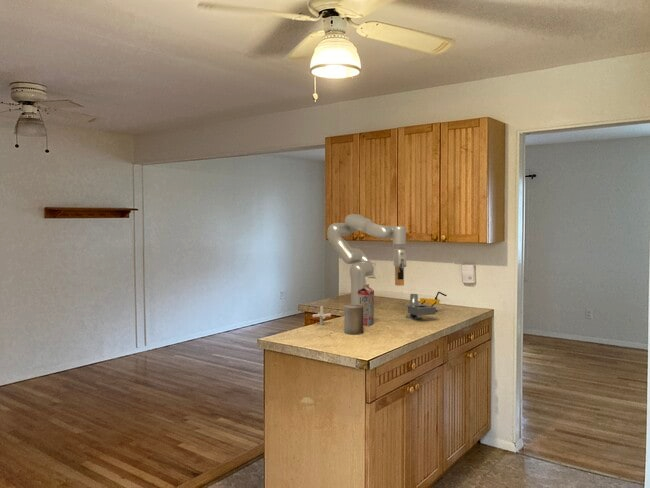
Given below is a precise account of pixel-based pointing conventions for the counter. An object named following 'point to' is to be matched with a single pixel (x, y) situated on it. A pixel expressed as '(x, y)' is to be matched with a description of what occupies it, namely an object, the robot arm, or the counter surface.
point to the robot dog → (431, 300)
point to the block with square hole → (418, 308)
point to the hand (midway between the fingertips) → (399, 278)
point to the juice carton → (367, 304)
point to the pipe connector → (321, 315)
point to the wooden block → (397, 281)
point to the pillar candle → (353, 319)
